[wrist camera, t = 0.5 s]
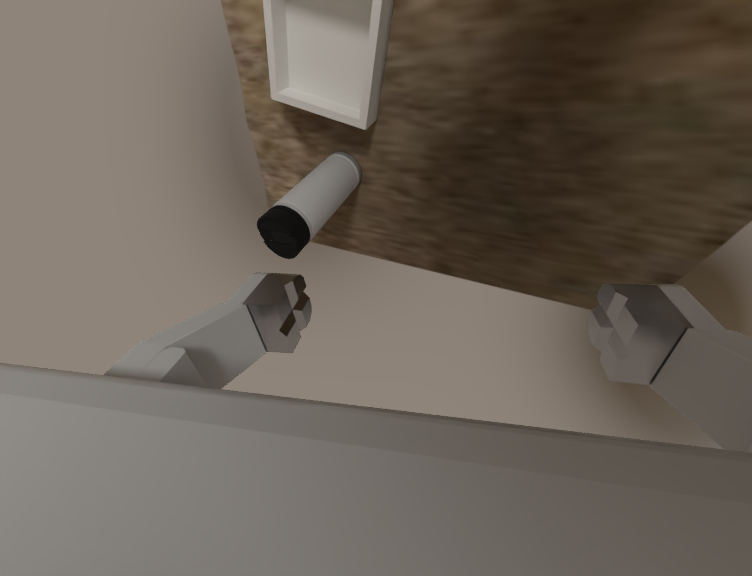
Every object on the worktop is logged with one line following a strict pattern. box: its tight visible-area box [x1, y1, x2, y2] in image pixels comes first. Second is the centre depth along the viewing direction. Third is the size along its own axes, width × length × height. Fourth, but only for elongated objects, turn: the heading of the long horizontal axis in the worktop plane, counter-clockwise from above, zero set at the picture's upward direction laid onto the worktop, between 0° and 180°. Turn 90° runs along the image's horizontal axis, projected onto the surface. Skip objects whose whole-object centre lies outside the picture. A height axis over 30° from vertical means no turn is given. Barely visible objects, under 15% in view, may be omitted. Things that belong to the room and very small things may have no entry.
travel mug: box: [257, 152, 361, 259], centre depth 45 cm, size 6×7×20 cm
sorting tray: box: [263, 0, 394, 130], centre depth 38 cm, size 14×14×4 cm
